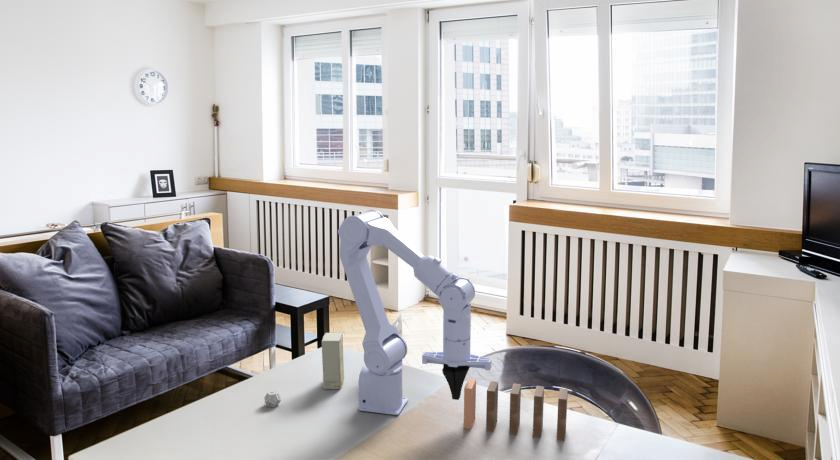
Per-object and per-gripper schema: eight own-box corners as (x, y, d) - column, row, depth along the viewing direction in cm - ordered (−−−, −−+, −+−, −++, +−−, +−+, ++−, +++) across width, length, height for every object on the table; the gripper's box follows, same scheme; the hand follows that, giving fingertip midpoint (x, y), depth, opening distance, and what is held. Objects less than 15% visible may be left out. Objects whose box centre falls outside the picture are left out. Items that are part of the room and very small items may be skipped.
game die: (272, 410, 148) (271, 397, 147) (261, 405, 150) (260, 393, 149) (284, 404, 151) (283, 392, 150) (273, 400, 153) (272, 388, 152)
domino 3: (532, 437, 136) (534, 395, 134) (534, 425, 141) (536, 385, 139) (540, 438, 136) (542, 396, 134) (542, 426, 140) (544, 386, 139)
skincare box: (341, 389, 158) (340, 341, 156) (322, 389, 158) (321, 341, 156) (344, 378, 164) (343, 332, 162) (326, 378, 164) (325, 331, 162)
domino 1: (486, 431, 138) (486, 390, 137) (489, 420, 143) (490, 380, 141) (493, 432, 138) (494, 391, 136) (497, 421, 143) (498, 381, 141)
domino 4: (556, 440, 135) (558, 398, 133) (558, 428, 140) (559, 388, 138) (564, 441, 134) (566, 399, 133) (565, 429, 139) (567, 389, 137)
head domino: (463, 428, 140) (464, 388, 138) (468, 417, 144) (468, 378, 143) (471, 429, 139) (471, 388, 138) (475, 418, 144) (476, 379, 142)
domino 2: (509, 434, 137) (510, 393, 135) (512, 422, 142) (513, 383, 140) (516, 435, 137) (518, 394, 135) (519, 423, 142) (521, 384, 140)
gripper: (418, 340, 137) (418, 401, 140) (488, 346, 133) (487, 409, 136) (426, 329, 144) (426, 388, 146) (493, 334, 140) (492, 395, 143)
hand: (456, 397), depth 141 cm, fingers closed
